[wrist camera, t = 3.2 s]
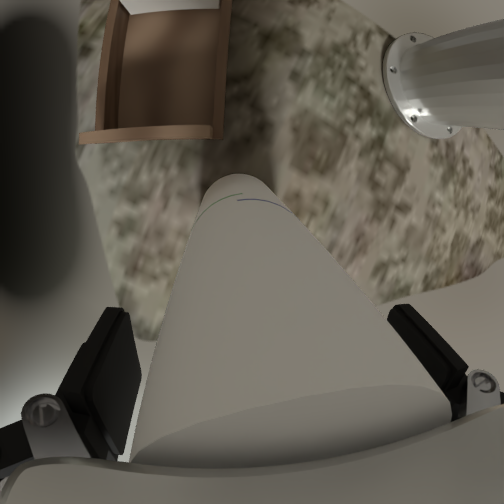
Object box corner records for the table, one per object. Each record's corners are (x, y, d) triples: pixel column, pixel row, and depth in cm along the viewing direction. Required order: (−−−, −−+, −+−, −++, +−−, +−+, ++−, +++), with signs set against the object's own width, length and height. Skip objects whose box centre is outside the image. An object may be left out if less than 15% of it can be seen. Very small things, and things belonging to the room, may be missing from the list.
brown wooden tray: (233, -14, 19) (238, -61, 11) (223, 139, 25) (222, 137, 17) (128, -7, 18) (101, -46, 10) (112, 142, 24) (69, 145, 16)
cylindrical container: (272, 248, 30) (379, 505, 6) (199, 245, 29) (159, 525, 5) (279, 176, 27) (504, 350, 4) (202, 171, 26) (74, 379, 3)
